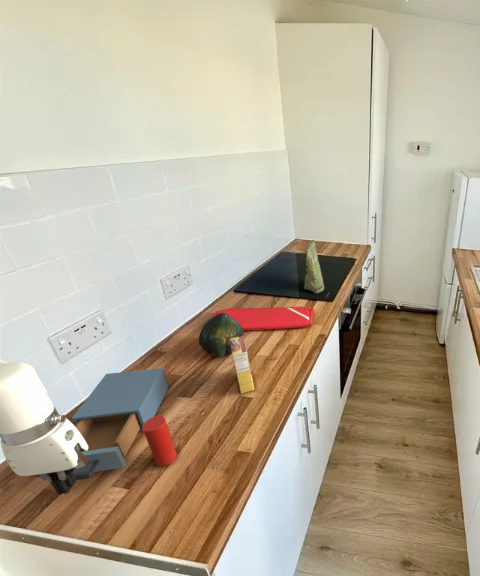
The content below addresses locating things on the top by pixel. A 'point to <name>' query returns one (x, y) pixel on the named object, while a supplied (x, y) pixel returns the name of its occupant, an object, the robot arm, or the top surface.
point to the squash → (219, 334)
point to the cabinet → (125, 395)
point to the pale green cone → (313, 270)
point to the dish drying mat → (271, 317)
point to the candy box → (241, 364)
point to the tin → (159, 440)
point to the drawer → (106, 442)
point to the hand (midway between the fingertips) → (68, 487)
